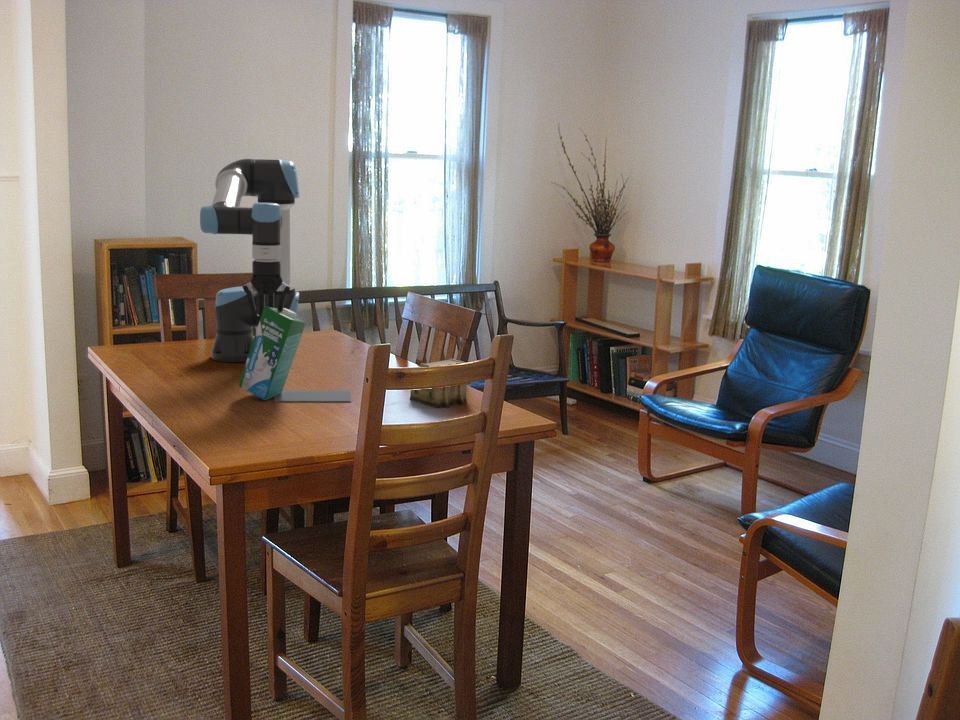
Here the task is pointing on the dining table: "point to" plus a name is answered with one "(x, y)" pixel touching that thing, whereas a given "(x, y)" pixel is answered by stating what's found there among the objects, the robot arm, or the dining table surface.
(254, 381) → the milk carton
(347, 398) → the mat
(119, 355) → the dining table surface
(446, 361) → the miniature house
